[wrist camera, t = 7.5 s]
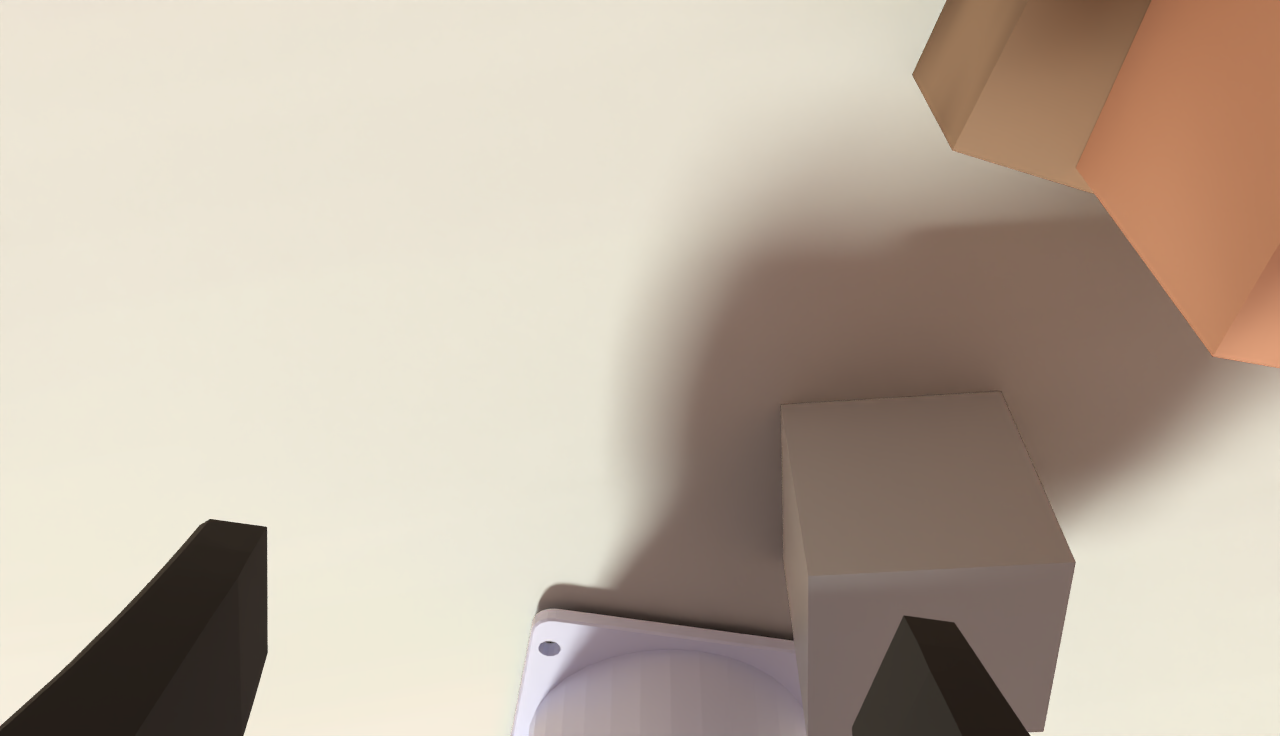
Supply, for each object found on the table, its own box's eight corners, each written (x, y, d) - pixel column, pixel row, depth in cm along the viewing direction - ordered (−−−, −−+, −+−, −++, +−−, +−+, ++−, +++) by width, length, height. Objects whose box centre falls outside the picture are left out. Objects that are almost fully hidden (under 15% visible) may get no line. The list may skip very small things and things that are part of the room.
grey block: (980, 548, 26) (1043, 731, 22) (782, 559, 26) (807, 741, 22) (1000, 389, 23) (1075, 562, 19) (780, 402, 23) (808, 575, 19)
